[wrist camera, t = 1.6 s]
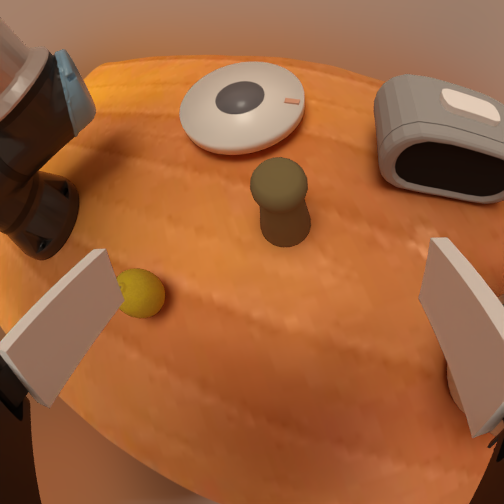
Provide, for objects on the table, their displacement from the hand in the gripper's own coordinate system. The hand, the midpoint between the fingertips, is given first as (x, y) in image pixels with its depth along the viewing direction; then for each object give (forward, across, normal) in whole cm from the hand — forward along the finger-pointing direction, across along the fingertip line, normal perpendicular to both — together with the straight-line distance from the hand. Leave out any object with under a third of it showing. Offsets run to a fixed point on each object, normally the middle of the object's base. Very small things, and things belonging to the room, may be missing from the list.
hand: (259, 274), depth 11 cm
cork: (+24, 0, -8) cm, 25 cm away
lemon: (+17, -16, -14) cm, 27 cm away
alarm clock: (+29, +21, -2) cm, 36 cm away
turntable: (+34, -6, +7) cm, 36 cm away
